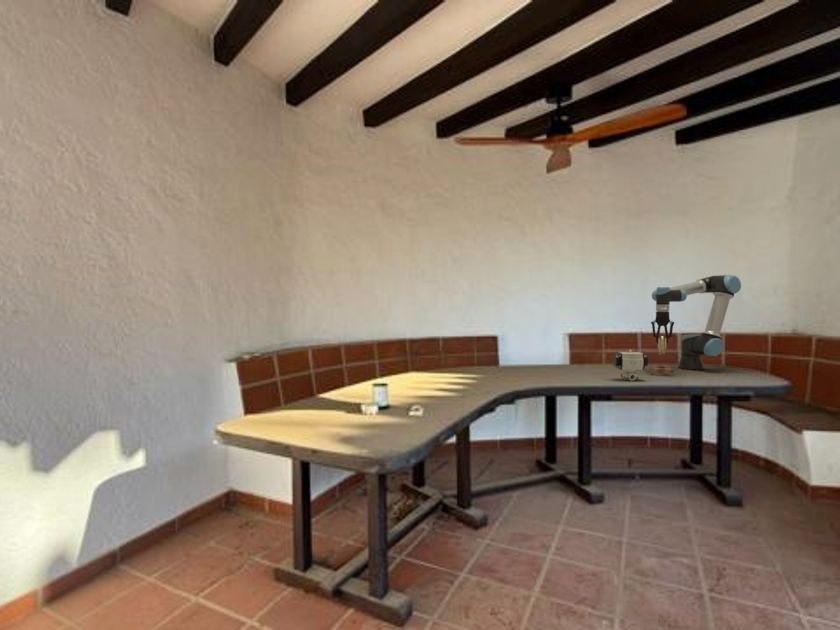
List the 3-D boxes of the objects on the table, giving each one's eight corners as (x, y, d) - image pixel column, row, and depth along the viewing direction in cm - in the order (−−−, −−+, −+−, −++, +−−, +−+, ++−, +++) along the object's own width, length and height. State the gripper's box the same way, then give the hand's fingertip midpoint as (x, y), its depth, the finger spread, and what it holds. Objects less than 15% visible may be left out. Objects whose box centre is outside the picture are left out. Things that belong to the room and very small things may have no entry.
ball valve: (616, 381, 278) (617, 350, 277) (612, 378, 287) (612, 349, 286) (648, 381, 277) (649, 351, 276) (643, 378, 285) (643, 349, 285)
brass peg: (664, 354, 303) (664, 335, 303) (665, 355, 300) (665, 336, 300) (658, 354, 305) (659, 335, 304) (659, 355, 302) (659, 336, 301)
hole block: (669, 372, 309) (670, 366, 309) (673, 376, 294) (673, 369, 294) (649, 371, 313) (649, 365, 313) (651, 375, 298) (651, 368, 298)
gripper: (649, 311, 301) (648, 348, 302) (677, 311, 295) (677, 349, 296) (648, 311, 308) (647, 347, 309) (676, 311, 302) (675, 348, 303)
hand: (662, 348), depth 302 cm, fingers closed on brass peg, 3 cm apart
